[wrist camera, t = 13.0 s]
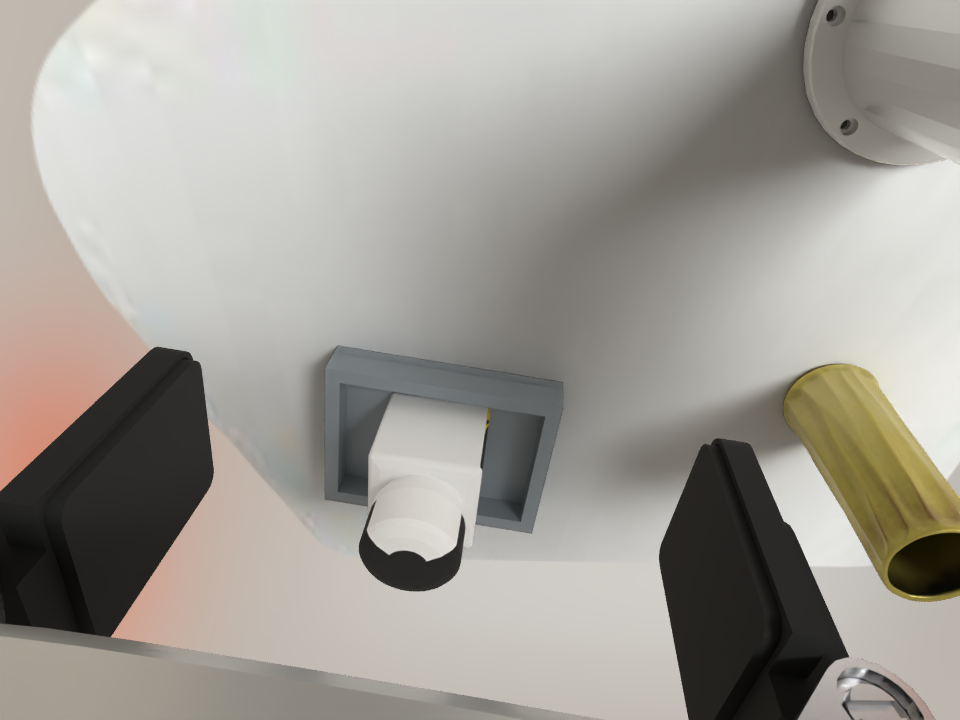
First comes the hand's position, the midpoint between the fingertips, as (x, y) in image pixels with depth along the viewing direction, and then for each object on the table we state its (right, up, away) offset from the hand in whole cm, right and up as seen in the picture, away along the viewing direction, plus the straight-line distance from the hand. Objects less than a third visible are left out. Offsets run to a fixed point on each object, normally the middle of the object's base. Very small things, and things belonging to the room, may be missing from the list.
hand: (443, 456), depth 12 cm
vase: (+25, -1, +31) cm, 40 cm away
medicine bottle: (-2, -4, +35) cm, 35 cm away
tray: (-2, -3, +36) cm, 36 cm away
